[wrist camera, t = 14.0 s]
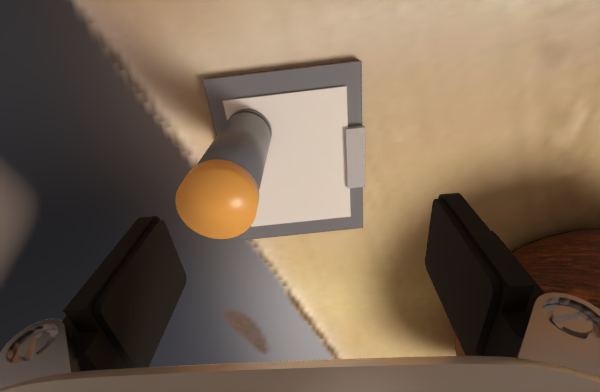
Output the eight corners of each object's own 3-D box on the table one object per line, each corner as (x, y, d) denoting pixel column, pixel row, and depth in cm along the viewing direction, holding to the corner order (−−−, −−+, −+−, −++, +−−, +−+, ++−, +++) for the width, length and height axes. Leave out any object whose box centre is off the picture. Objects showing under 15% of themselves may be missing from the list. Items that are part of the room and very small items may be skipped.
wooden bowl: (634, 347, 39) (735, 444, 31) (435, 379, 42) (474, 477, 33) (717, 176, 27) (925, 254, 18) (429, 235, 30) (488, 328, 21)
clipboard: (361, 59, 22) (364, 61, 21) (362, 223, 29) (365, 230, 28) (204, 78, 22) (200, 81, 21) (243, 236, 29) (242, 243, 28)
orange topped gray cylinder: (268, 104, 22) (246, 165, 13) (276, 151, 24) (263, 234, 15) (219, 110, 22) (163, 176, 13) (231, 157, 24) (189, 242, 15)
